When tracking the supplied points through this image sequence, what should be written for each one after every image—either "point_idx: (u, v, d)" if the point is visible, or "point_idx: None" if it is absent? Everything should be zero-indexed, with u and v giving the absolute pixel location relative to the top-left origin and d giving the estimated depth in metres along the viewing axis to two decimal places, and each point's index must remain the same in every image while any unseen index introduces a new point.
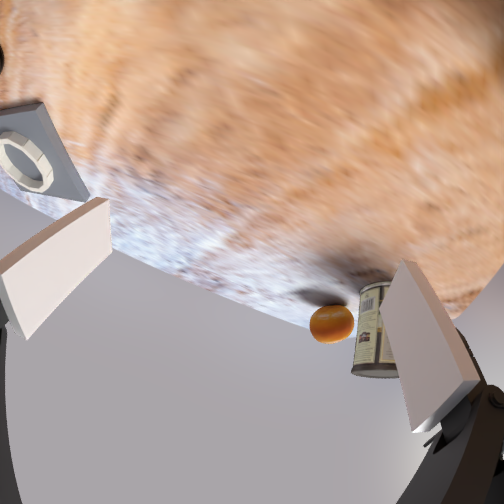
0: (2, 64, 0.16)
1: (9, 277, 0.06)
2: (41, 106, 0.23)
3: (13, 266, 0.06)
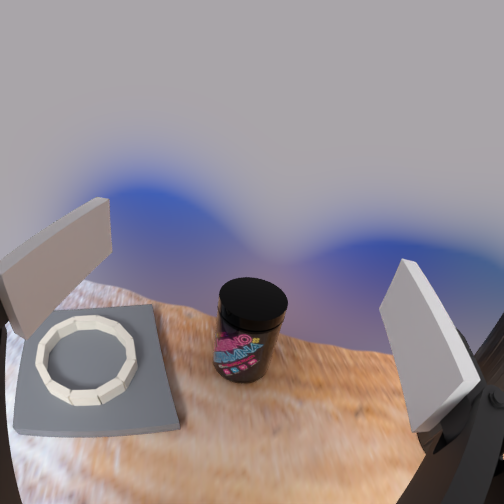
0: (234, 381, 0.30)
1: (9, 277, 0.06)
2: (177, 427, 0.23)
3: (13, 266, 0.06)
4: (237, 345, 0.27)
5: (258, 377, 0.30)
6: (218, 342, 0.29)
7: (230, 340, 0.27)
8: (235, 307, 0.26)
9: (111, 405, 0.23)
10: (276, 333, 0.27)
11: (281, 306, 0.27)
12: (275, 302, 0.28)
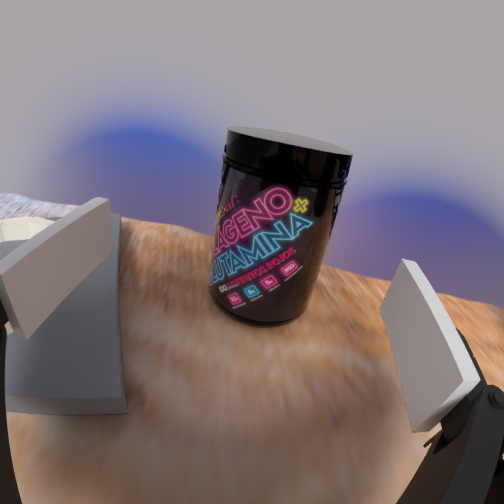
0: (248, 322, 0.16)
1: (9, 277, 0.06)
2: (120, 407, 0.10)
3: (13, 266, 0.06)
4: (262, 221, 0.13)
5: (294, 315, 0.16)
6: (221, 231, 0.15)
7: (246, 211, 0.13)
8: (259, 135, 0.12)
9: None
10: (336, 205, 0.14)
11: (343, 151, 0.14)
12: (330, 147, 0.14)
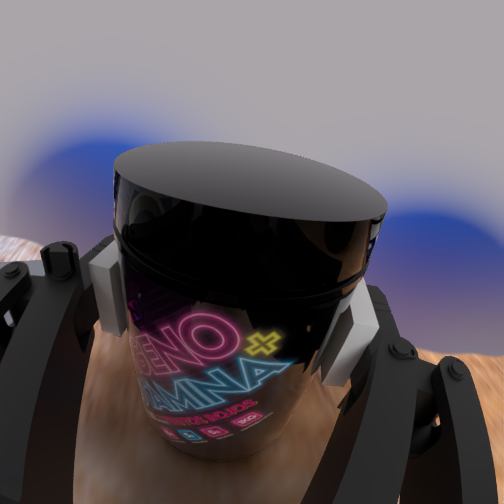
0: None
1: (113, 271, 0.08)
2: None
3: None
4: (183, 363, 0.06)
5: (265, 446, 0.09)
6: (131, 343, 0.08)
7: (152, 339, 0.06)
8: (165, 173, 0.05)
9: None
10: (344, 312, 0.07)
11: (365, 195, 0.06)
12: (338, 184, 0.07)
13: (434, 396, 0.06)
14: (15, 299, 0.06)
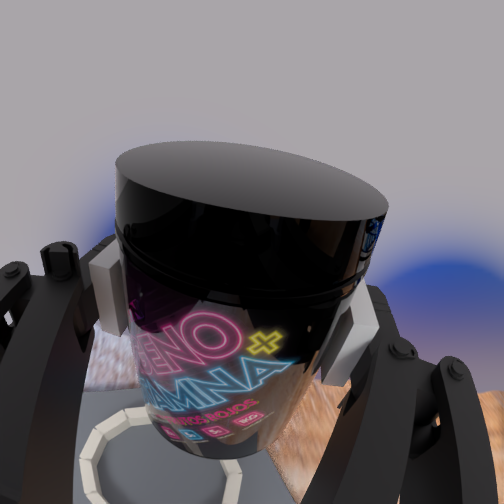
0: None
1: (113, 271, 0.08)
2: None
3: (118, 260, 0.08)
4: (184, 362, 0.06)
5: (266, 445, 0.09)
6: (133, 343, 0.08)
7: (153, 339, 0.06)
8: (167, 172, 0.05)
9: None
10: (345, 312, 0.07)
11: (366, 194, 0.06)
12: (339, 183, 0.07)
13: (434, 396, 0.06)
14: (15, 299, 0.06)
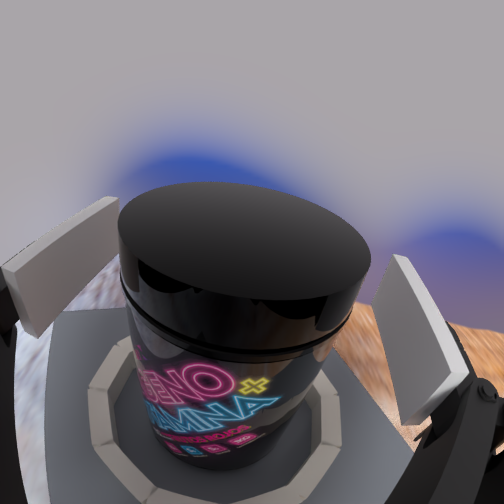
0: (197, 466, 0.09)
1: (21, 275, 0.06)
2: None
3: (25, 264, 0.07)
4: (186, 397, 0.07)
5: (259, 458, 0.10)
6: (139, 372, 0.08)
7: (159, 377, 0.07)
8: (166, 241, 0.06)
9: (315, 500, 0.09)
10: (328, 353, 0.07)
11: (351, 249, 0.07)
12: (327, 237, 0.07)
13: None
14: None
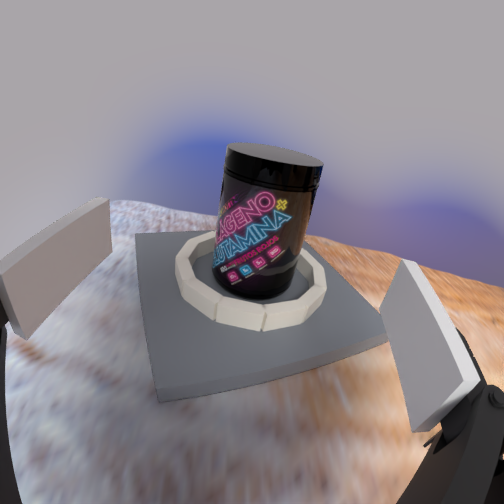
0: (243, 295, 0.21)
1: (9, 277, 0.06)
2: (387, 338, 0.21)
3: (13, 266, 0.06)
4: (253, 216, 0.18)
5: (280, 290, 0.21)
6: (222, 224, 0.20)
7: (241, 208, 0.18)
8: (251, 152, 0.17)
9: (314, 322, 0.20)
10: (309, 203, 0.19)
11: (315, 162, 0.18)
12: (306, 159, 0.19)
13: None
14: None
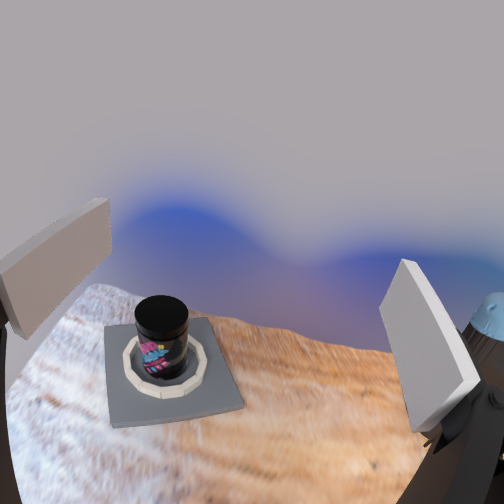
0: (156, 378, 0.35)
1: (9, 277, 0.06)
2: (241, 407, 0.35)
3: (13, 266, 0.06)
4: (149, 349, 0.32)
5: (175, 376, 0.36)
6: (140, 346, 0.34)
7: (144, 345, 0.32)
8: (144, 320, 0.31)
9: (192, 395, 0.34)
10: (179, 342, 0.33)
11: (181, 320, 0.33)
12: (177, 317, 0.33)
13: None
14: None
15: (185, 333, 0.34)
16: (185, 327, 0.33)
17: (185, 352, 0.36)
